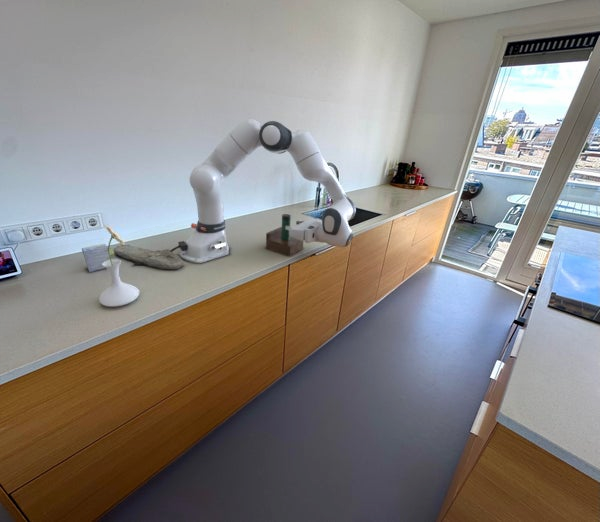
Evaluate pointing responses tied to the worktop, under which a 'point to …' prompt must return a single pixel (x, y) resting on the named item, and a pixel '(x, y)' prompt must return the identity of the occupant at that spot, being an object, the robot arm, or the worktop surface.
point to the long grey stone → (150, 256)
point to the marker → (285, 222)
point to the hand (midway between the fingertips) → (291, 224)
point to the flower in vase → (116, 280)
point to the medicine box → (95, 256)
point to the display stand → (282, 243)
